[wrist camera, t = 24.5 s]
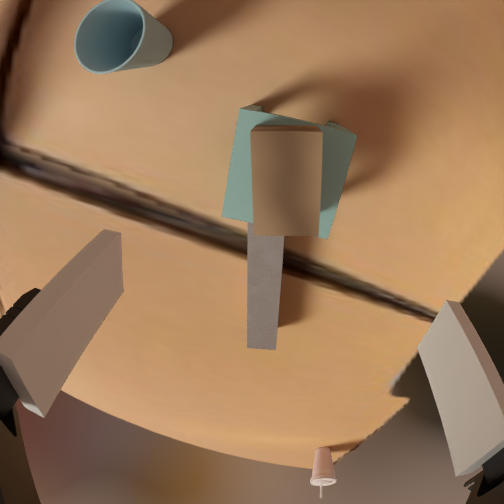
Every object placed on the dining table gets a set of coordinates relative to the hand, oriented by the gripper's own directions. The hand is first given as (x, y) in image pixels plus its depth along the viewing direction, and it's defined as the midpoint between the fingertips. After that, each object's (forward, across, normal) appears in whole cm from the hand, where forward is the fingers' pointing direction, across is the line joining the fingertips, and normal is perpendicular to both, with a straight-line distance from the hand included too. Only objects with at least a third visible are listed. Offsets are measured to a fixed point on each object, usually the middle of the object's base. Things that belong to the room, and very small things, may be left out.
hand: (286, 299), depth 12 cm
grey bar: (+27, 0, -14) cm, 30 cm away
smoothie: (+27, +26, -65) cm, 75 cm away
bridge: (+27, 0, 0) cm, 27 cm away
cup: (+27, -18, +11) cm, 34 cm away
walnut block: (+17, 0, 0) cm, 17 cm away
